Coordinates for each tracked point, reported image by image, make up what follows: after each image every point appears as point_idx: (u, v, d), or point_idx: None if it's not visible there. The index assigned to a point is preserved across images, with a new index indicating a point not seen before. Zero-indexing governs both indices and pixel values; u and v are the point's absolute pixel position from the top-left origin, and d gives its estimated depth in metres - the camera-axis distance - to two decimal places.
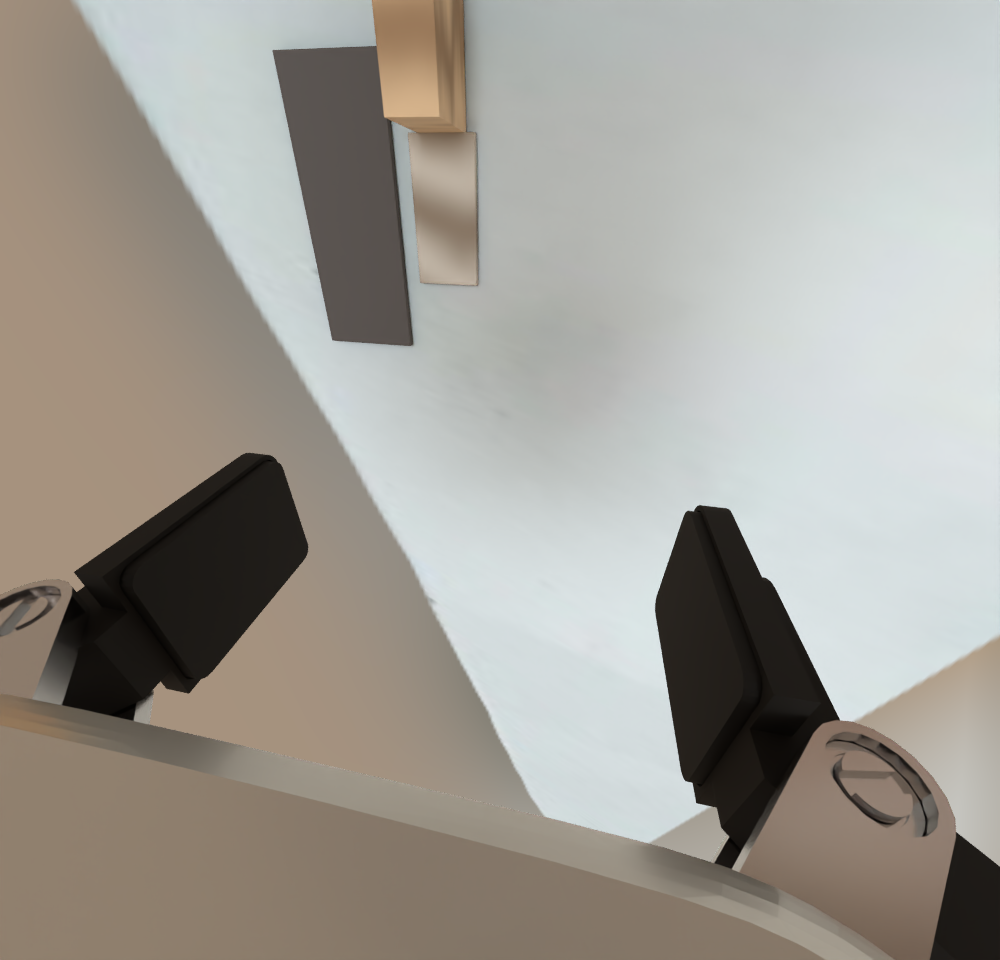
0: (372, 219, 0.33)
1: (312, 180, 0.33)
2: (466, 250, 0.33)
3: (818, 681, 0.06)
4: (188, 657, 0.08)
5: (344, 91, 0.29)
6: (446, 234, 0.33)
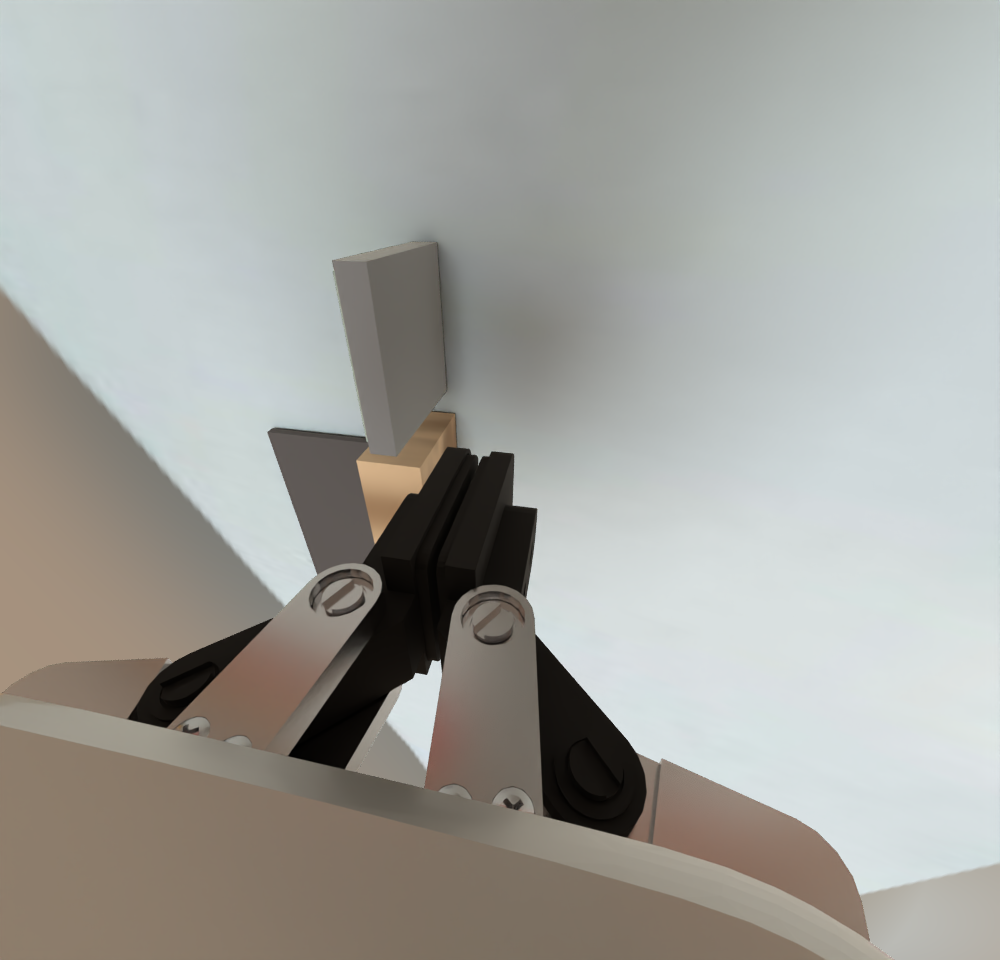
0: (368, 545, 0.34)
1: (308, 514, 0.33)
2: None
3: (521, 571, 0.07)
4: (436, 639, 0.08)
5: (338, 465, 0.30)
6: None
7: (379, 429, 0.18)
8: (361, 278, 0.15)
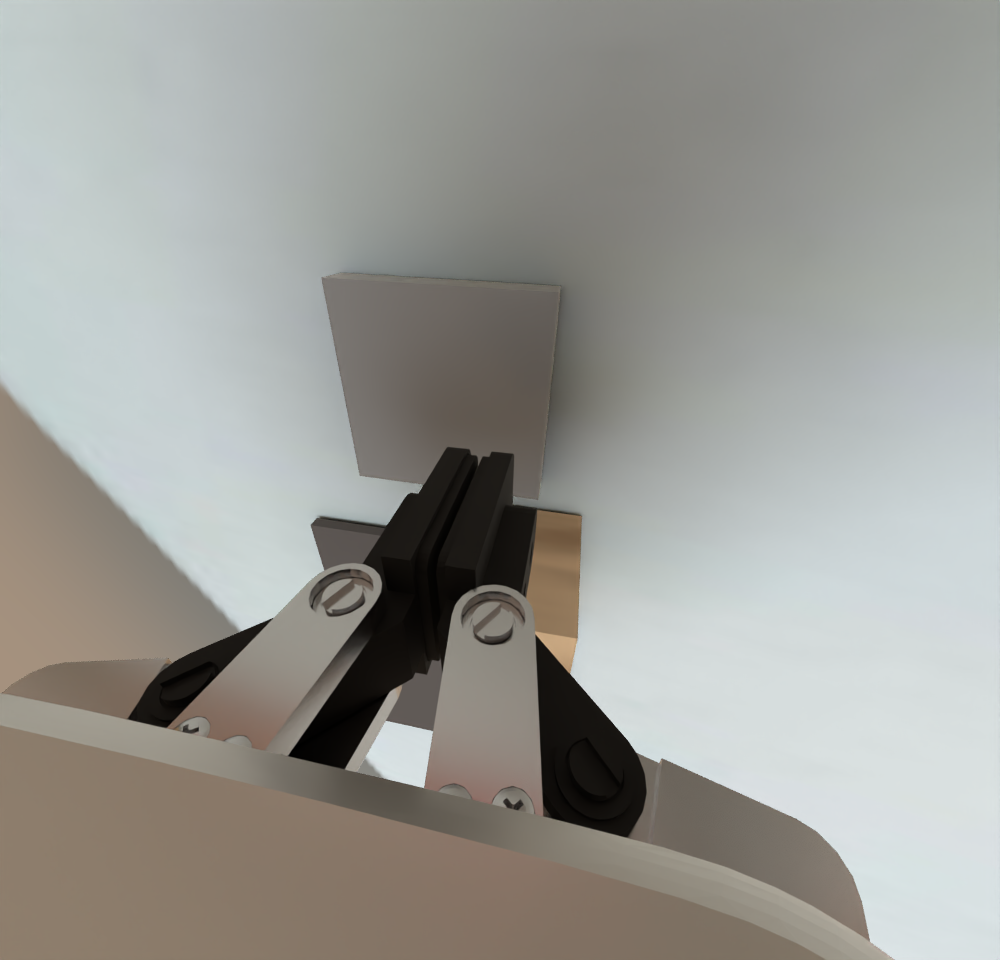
0: None
1: None
2: None
3: (521, 571, 0.07)
4: (436, 639, 0.08)
5: None
6: None
7: None
8: None
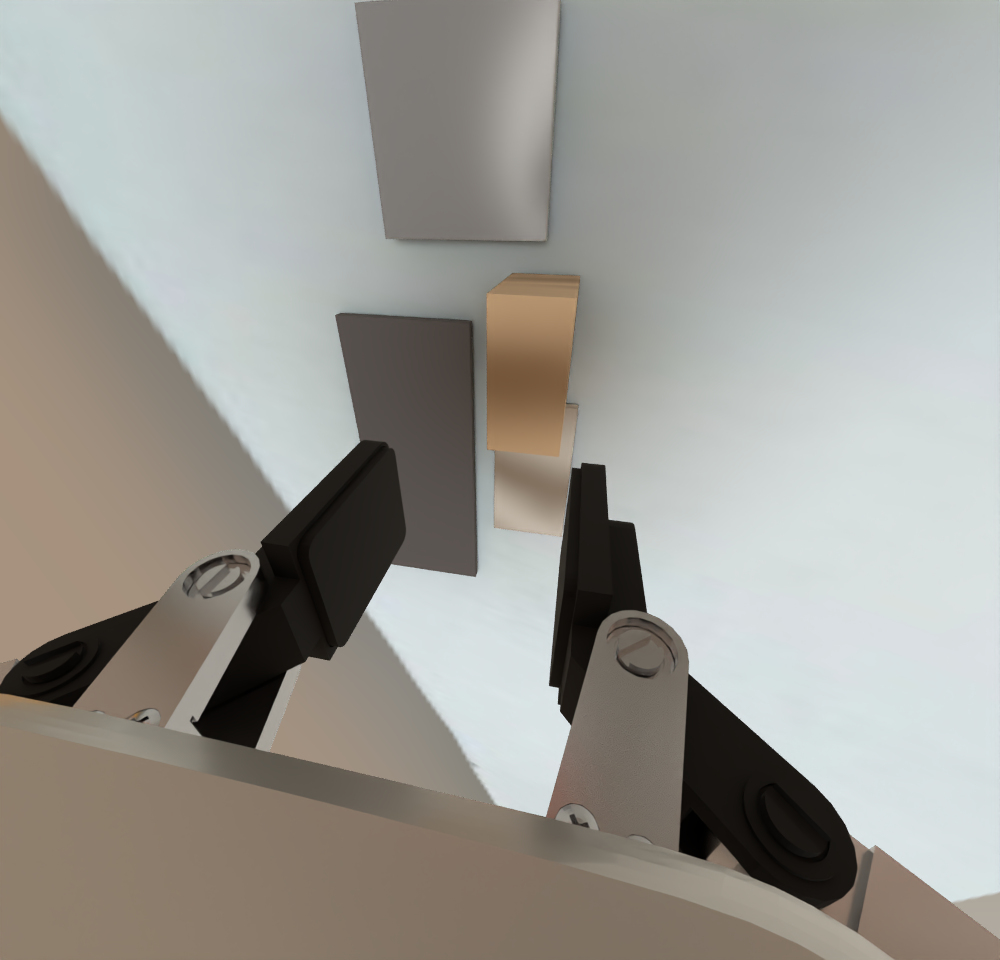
0: (442, 470, 0.28)
1: (373, 431, 0.28)
2: (554, 507, 0.28)
3: (641, 593, 0.07)
4: (335, 625, 0.08)
5: (420, 359, 0.24)
6: (531, 491, 0.28)
7: None
8: None
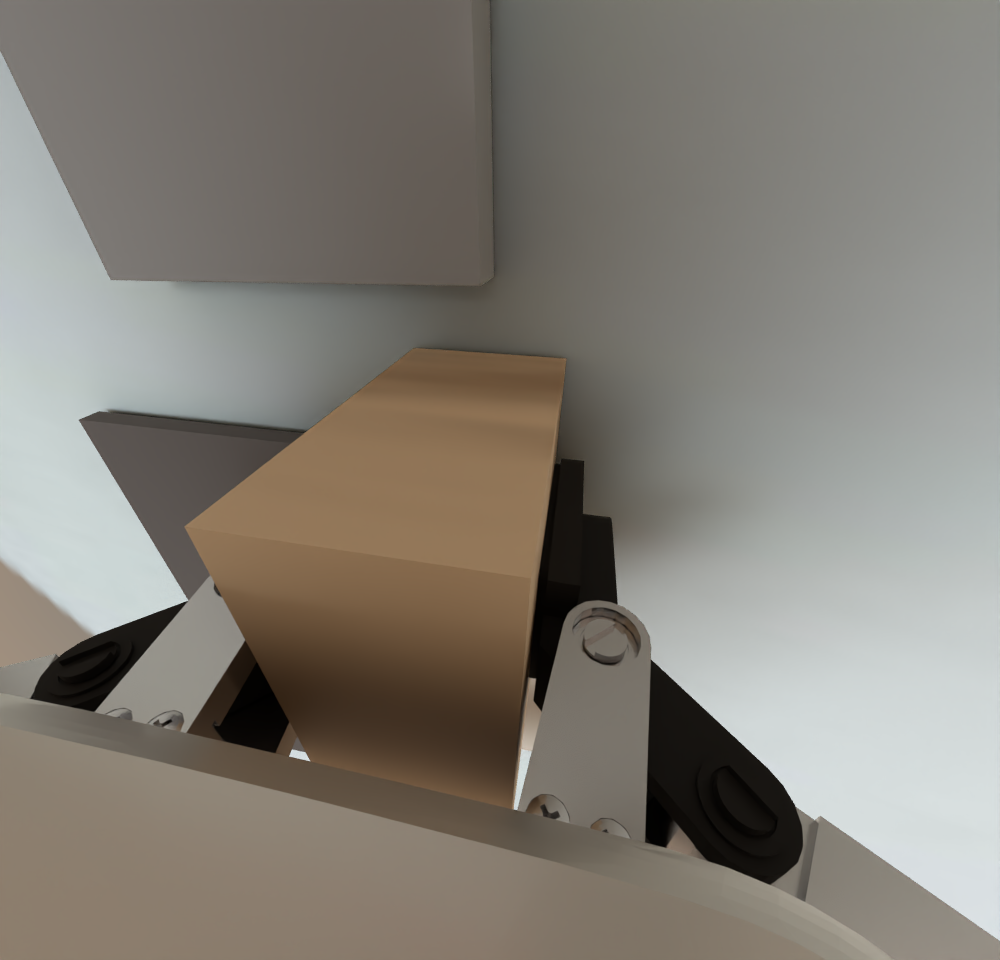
0: None
1: None
2: (527, 720, 0.16)
3: (613, 585, 0.07)
4: None
5: None
6: None
7: None
8: None
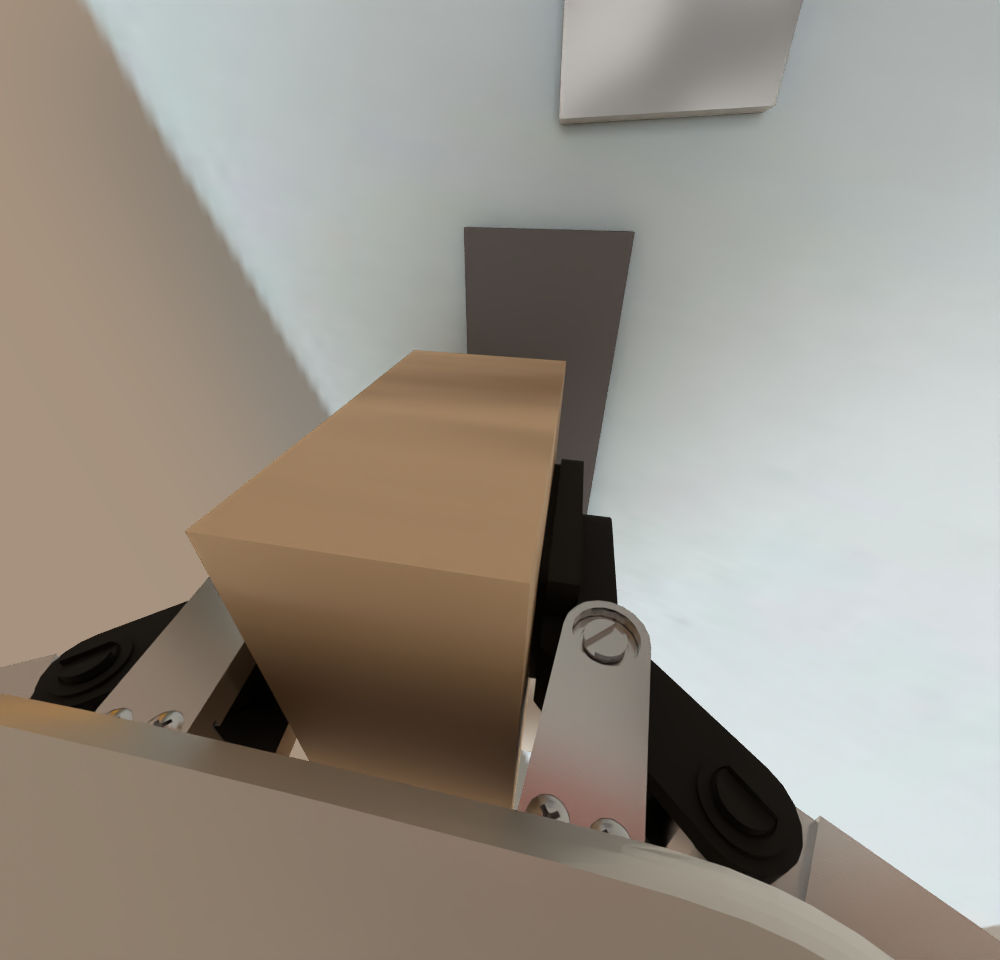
0: (564, 425, 0.24)
1: None
2: (527, 721, 0.16)
3: (613, 585, 0.07)
4: None
5: (563, 282, 0.20)
6: None
7: None
8: None
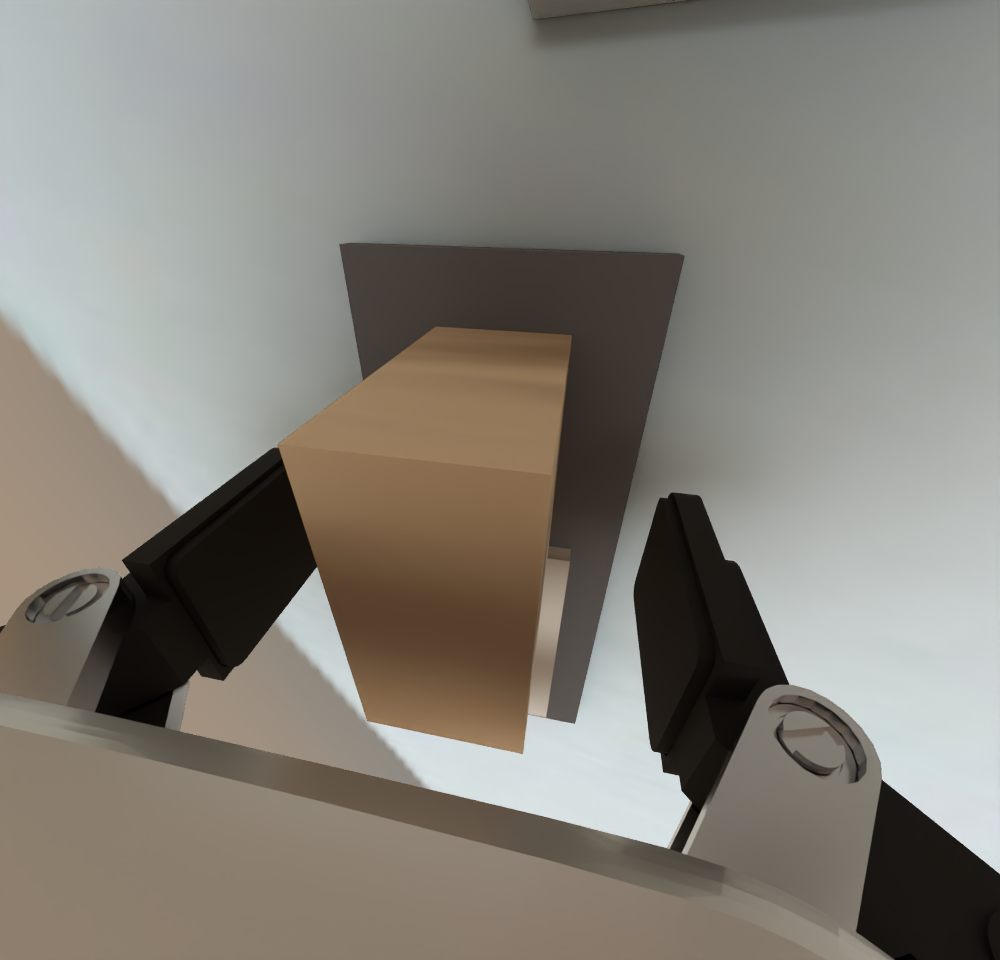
0: None
1: None
2: (532, 683, 0.18)
3: (773, 653, 0.06)
4: (224, 645, 0.08)
5: None
6: None
7: None
8: None
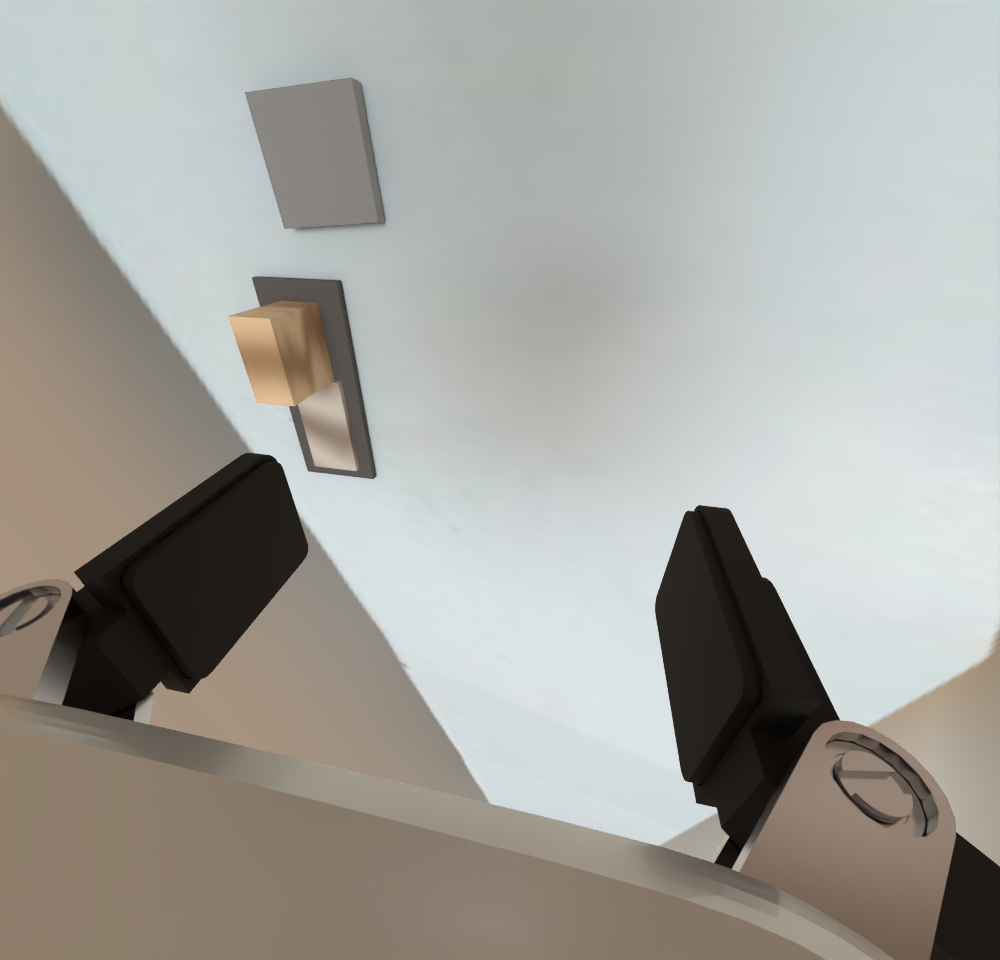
0: None
1: None
2: (345, 449, 0.43)
3: (818, 681, 0.06)
4: (188, 657, 0.08)
5: None
6: (329, 439, 0.43)
7: None
8: None
